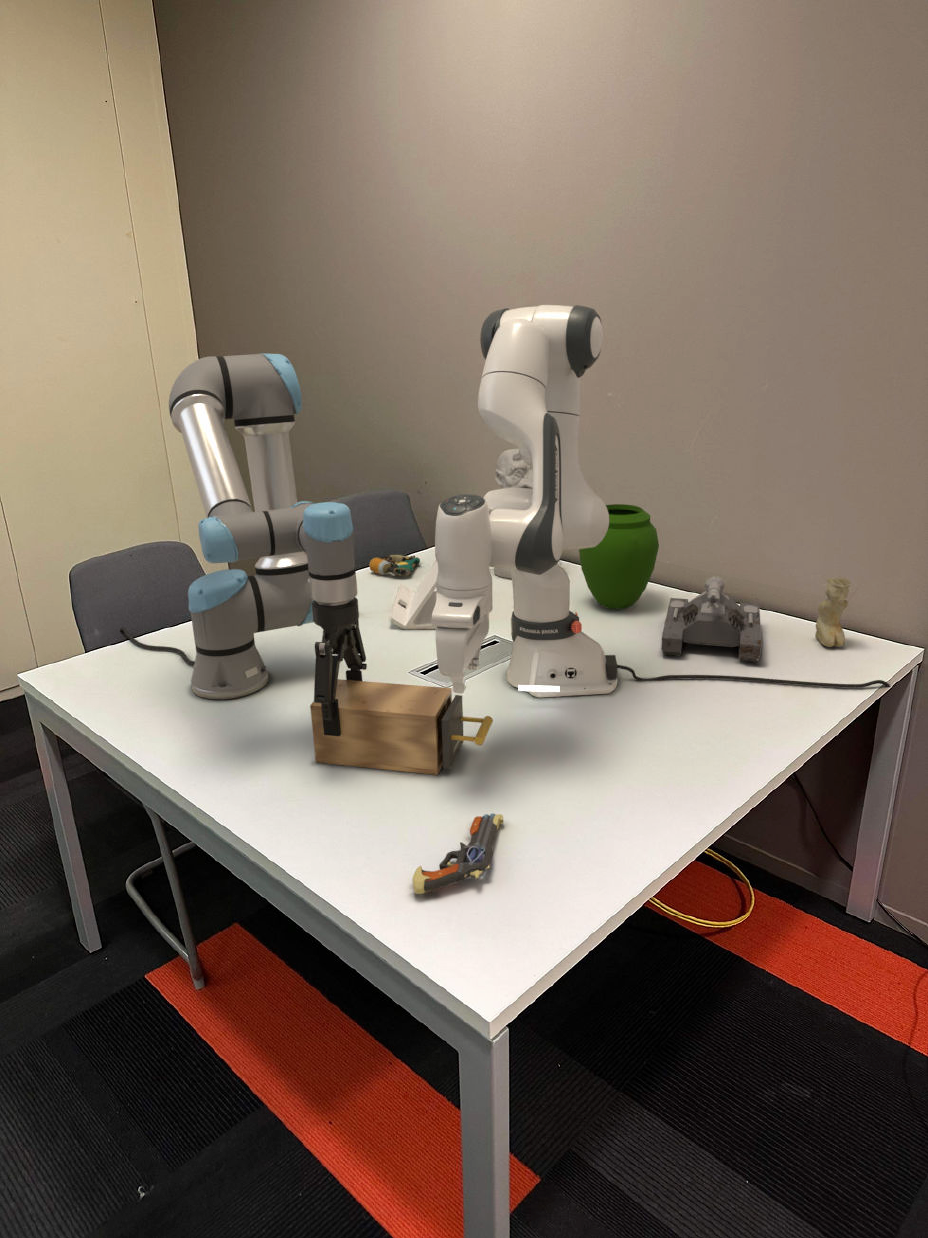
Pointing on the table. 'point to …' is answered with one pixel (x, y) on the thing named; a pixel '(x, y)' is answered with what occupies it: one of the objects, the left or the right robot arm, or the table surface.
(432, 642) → the table surface
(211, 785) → the table surface
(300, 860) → the table surface
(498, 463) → the bust sculpture
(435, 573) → the tablet stand
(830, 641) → the sculpture
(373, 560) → the spray gun
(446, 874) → the toy gun
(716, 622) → the toy
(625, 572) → the vase
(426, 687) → the cabinet
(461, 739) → the drawer
